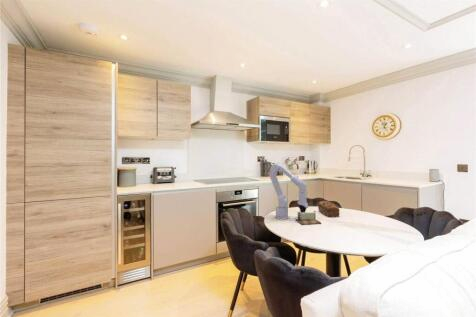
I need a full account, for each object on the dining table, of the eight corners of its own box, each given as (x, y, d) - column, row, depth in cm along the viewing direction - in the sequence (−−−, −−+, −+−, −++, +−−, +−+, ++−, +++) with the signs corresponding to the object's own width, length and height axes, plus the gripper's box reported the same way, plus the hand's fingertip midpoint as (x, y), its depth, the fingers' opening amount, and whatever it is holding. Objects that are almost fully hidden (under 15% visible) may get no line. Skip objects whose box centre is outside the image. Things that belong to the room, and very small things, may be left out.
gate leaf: (301, 219, 171) (301, 213, 171) (300, 219, 173) (300, 212, 173) (315, 218, 173) (315, 212, 173) (314, 218, 174) (314, 211, 174)
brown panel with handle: (301, 225, 164) (301, 215, 163) (295, 220, 175) (295, 211, 175) (321, 223, 166) (321, 214, 166) (313, 219, 178) (313, 210, 178)
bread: (317, 211, 201) (317, 200, 200) (329, 211, 201) (329, 200, 201) (327, 217, 182) (327, 205, 182) (340, 217, 183) (340, 204, 182)
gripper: (312, 199, 171) (312, 217, 171) (303, 195, 185) (303, 212, 186) (303, 199, 170) (303, 217, 170) (295, 196, 184) (295, 212, 184)
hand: (302, 214), depth 178 cm, fingers closed
